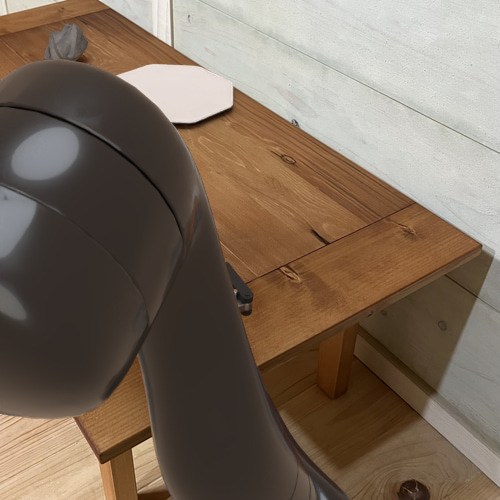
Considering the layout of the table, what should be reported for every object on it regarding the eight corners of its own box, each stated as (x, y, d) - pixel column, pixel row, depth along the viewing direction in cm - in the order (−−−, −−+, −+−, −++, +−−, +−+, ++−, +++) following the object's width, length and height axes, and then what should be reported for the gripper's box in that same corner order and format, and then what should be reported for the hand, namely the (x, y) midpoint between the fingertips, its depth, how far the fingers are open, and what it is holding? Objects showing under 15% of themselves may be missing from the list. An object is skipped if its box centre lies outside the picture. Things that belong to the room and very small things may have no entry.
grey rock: (43, 53, 128) (36, 15, 123) (86, 50, 131) (82, 12, 126) (47, 75, 120) (41, 35, 115) (94, 71, 123) (89, 32, 118)
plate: (162, 143, 103) (162, 135, 102) (81, 94, 115) (80, 86, 114) (258, 101, 117) (258, 94, 116) (176, 61, 129) (176, 54, 128)
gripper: (290, 323, 53) (221, 214, 65) (128, 368, 49) (85, 242, 60) (282, 377, 58) (219, 267, 70) (134, 423, 53) (93, 296, 65)
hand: (157, 256), depth 65 cm, fingers closed on pill bottle, 6 cm apart
